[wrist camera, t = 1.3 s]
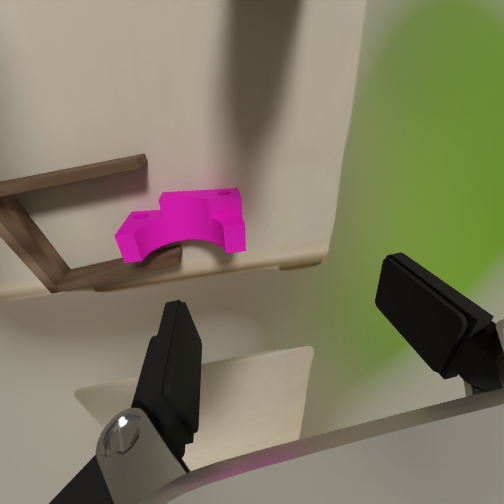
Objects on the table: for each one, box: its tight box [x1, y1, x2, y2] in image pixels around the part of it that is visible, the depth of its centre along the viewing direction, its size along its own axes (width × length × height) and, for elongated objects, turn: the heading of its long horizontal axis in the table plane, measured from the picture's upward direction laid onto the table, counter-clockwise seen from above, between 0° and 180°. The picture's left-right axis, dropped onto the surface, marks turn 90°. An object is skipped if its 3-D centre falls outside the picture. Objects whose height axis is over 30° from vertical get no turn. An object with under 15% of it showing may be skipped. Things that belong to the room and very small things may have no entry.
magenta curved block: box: [115, 188, 246, 263], centre depth 30 cm, size 15×6×8 cm, turn 90°
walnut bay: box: [0, 154, 182, 294], centre depth 30 cm, size 15×18×4 cm
